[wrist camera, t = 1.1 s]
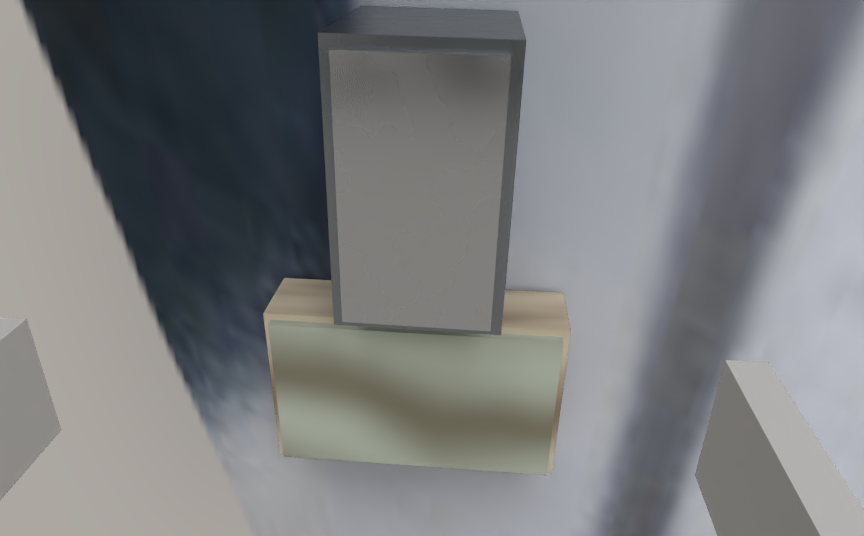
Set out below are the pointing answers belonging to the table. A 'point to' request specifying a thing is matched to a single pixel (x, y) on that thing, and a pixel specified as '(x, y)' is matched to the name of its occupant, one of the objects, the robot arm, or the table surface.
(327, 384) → the stand
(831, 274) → the table surface
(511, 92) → the housing
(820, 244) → the table surface
